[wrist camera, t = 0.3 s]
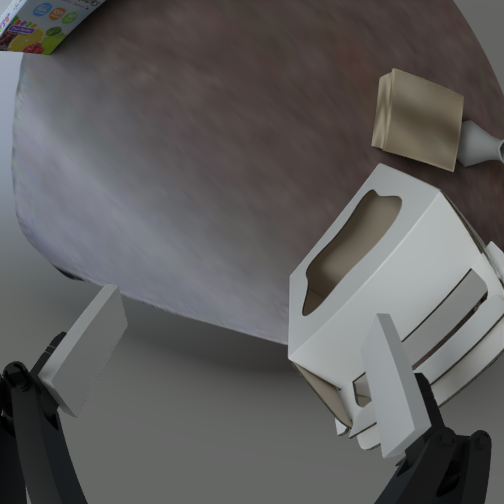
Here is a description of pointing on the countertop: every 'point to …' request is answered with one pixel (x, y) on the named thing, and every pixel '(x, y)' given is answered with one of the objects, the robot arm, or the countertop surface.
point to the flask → (477, 145)
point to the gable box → (394, 296)
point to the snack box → (41, 23)
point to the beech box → (418, 119)
